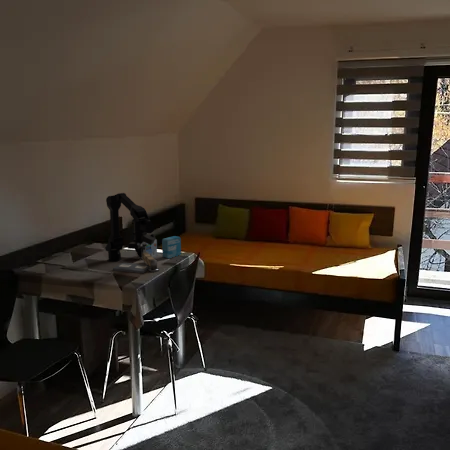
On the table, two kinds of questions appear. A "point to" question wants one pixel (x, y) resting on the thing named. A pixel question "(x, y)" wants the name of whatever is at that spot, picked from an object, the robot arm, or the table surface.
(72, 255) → the table surface
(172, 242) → the data package
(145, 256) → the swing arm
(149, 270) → the pivot base
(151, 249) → the light bulb box
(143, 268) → the label board
